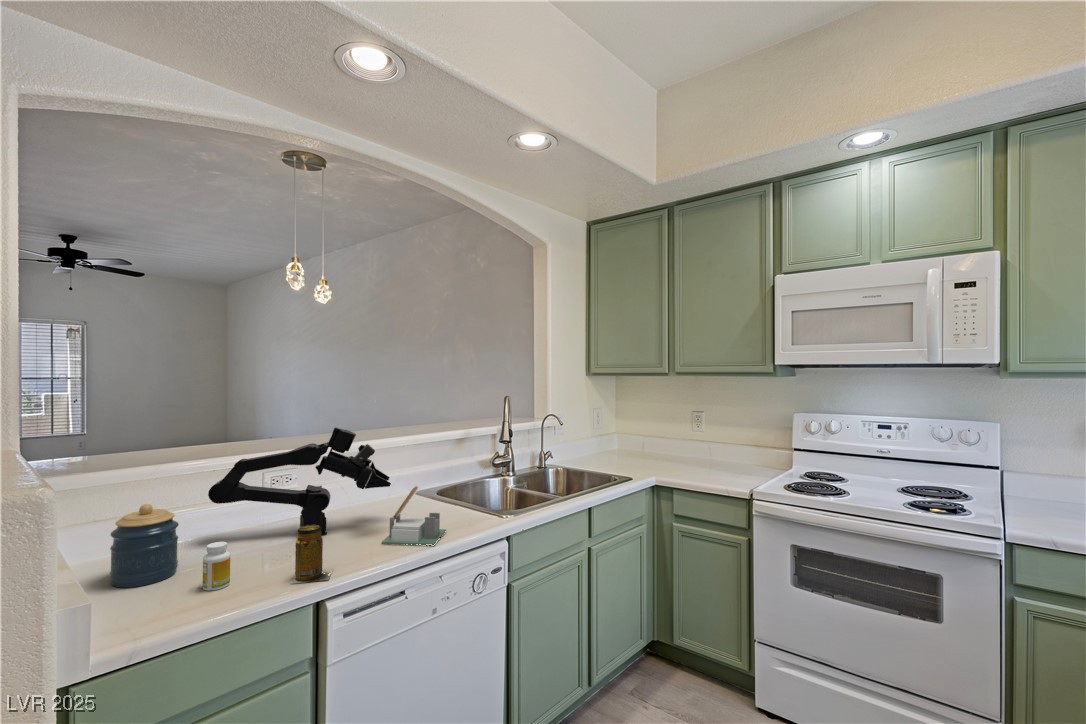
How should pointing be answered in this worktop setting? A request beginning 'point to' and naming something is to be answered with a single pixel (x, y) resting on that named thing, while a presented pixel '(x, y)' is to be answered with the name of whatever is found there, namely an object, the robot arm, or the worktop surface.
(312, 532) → the condiment
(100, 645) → the worktop surface
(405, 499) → the brown thin bar
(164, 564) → the canister
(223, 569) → the supplement bottle
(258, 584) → the worktop surface
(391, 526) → the circuit board module
